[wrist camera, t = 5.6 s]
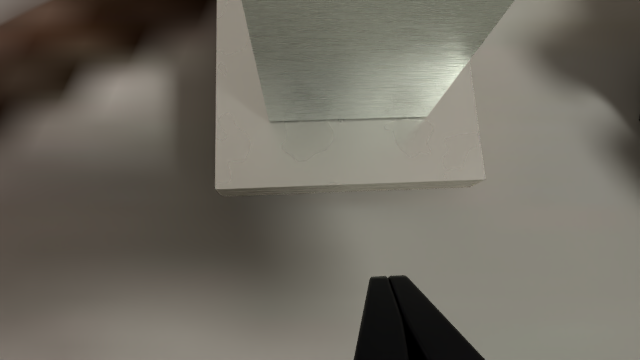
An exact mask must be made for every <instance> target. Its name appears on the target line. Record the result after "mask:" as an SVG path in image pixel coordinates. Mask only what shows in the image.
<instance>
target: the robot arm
mask: <svg viewBox="0 0 640 360" xmlns="http://www.w3.org/2000/svg"><path fill="white" fill-rule="evenodd" d="M354 360H485V359H484V358H483V357H482V356H481V355H480V354H479V353H478V352H477V351H476V350H475V348H474V347H473V346H472V345H471V344H470V343H469V342H468V341H467V340H466V339H465V338H464V337H463V336H462V335H461V334H460V332H459V331H458V330H457V329H456V328H455V327H454V326H453V325H452V324H451V323H450V322H449V321H448V320H447V319H446V318H445V317H444V315H443V314H442V313H441V312H440V311H439V310H438V309H437V308H436V307H435V306H434V305H433V304H432V303H431V302H430V301H429V299H428V298H427V297H426V296H425V295H424V294H423V293H422V292H421V291H420V290H419V289H418V288H417V287H416V286H415V285H414V284H413V282H412V281H411V280H410V279H409V278H408V277H406V276H404V275H400V276H390V277H388V278H387V277H386V276H379V277H371V278H370V280H369V285H368V290H367V295H366V300H365V305H364V311H363V316H362V321H361V326H360V331H359V336H358V341H357V346H356V351H355V356H354Z"/></svg>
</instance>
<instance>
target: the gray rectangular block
mask: <svg viewBox="0 0 640 360" xmlns="http://www.w3.org/2000/svg"><path fill="white" fill-rule="evenodd" d="M483 180H485V171H484V164H483V156H482V149H481V141H480V134H479V126H478V119H477V111H476V104H475V96H474V89H473V81H472V74H471V66H470V60H469V61H468V63H467V64H466V65H465V67H464V68H463V69H462V71H461V72H460V73H459V75H458V76H457V77H456V79H455V80H454V81H453V83H452V84H451V85H450V87H449V88H448V89H447V91H446V92H445V93H444V95H443V96H442V97H441V99H440V100H439V101H438V103H437V104H436V105H435V107H434V108H433V109H432V111H431V112H430V113H429V114H428V116H427V117H398V118H364V119H330V120H295V121H269V119H268V115H267V110H266V106H265V102H264V97H263V93H262V88H261V84H260V80H259V75H258V71H257V67H256V62H255V58H254V53H253V49H252V45H251V40H250V36H249V32H248V27H247V23H246V18H245V14H244V10H243V5H242V1H241V0H217V38H216V139H215V190H216V191H217V192H219V193H220V194H221V195H222V196H250V195H277V194H303V193H330V192H357V191H384V190H411V189H437V188H464V187H471V186H473V185H475V184H477V183H479V182H481V181H483Z"/></svg>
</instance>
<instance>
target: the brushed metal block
mask: <svg viewBox="0 0 640 360" xmlns="http://www.w3.org/2000/svg"><path fill="white" fill-rule="evenodd" d="M241 1H242V5H243V10H244V14H245V18H246V23H247V27H248V32H249V36H250V40H251V45H252V49H253V53H254V58H255V62H256V67H257V71H258V75H259V80H260V84H261V88H262V93H263V97H264V102H265V106H266V110H267V115H268V119H269V121H295V120H330V119H364V118H398V117H427V116H428V114H429V113H430V112H431V111H432V109H433V108H434V107H435V105H436V104H437V103H438V101H439V100H440V99H441V97H442V96H443V95H444V93H445V92H446V91H447V89H448V88H449V87H450V85H451V84H452V83H453V81H454V80H455V79H456V77H457V76H458V75H459V73H460V72H461V71H462V69H463V68H464V67H465V65H466V64H467V63H468V61H469V60H470V59H471V57H472V56H473V55H474V53H475V52H476V51H477V49H478V48H479V47H480V46H481V44H482V43H483V42H484V40H485V39H486V38H487V36H488V35H489V34H490V32H491V31H492V30H493V28H494V27H495V26H496V24H497V23H498V22H499V20H500V19H501V18H502V16H503V15H504V14H505V12H506V11H507V10H508V8H509V7H510V6H511V4H512V3H513V2H514V0H241Z"/></svg>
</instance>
